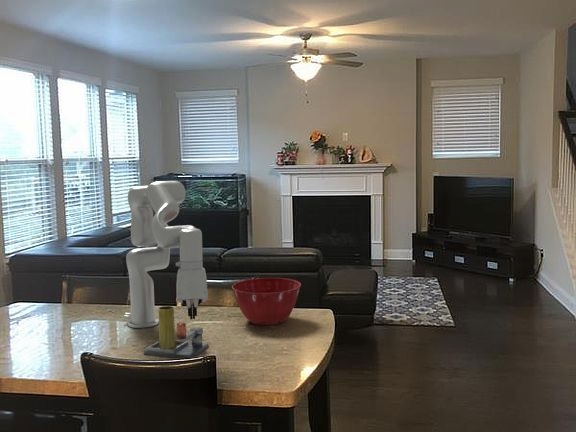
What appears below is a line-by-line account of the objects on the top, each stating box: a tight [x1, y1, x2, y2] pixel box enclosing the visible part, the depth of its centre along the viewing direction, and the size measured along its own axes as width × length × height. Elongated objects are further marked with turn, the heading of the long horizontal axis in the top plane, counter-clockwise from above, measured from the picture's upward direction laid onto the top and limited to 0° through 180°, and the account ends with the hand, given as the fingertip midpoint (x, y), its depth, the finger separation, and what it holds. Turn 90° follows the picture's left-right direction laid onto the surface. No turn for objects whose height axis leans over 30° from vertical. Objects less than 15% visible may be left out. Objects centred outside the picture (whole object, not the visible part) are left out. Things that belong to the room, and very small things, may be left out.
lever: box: [176, 322, 204, 342], centre depth 210 cm, size 15×4×6 cm, turn 162°
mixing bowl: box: [231, 277, 302, 326], centre depth 250 cm, size 28×28×16 cm
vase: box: [158, 305, 177, 349], centre depth 213 cm, size 6×6×14 cm
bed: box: [143, 334, 210, 359], centre depth 213 cm, size 18×14×5 cm
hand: (192, 318), depth 205 cm, fingers closed
